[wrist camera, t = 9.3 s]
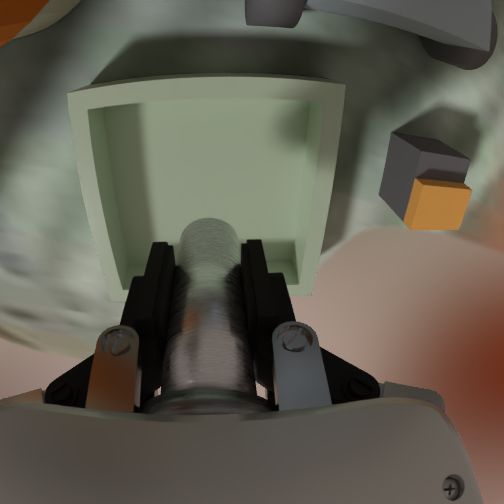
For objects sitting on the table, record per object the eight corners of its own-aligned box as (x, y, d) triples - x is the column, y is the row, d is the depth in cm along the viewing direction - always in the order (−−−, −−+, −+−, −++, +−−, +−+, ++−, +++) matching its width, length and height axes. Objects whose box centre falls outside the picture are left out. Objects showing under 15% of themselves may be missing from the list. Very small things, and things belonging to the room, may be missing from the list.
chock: (390, 132, 18) (430, 157, 14) (438, 139, 18) (479, 165, 14) (378, 194, 20) (410, 229, 17) (424, 196, 21) (458, 229, 17)
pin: (164, 208, 13) (118, 417, 6) (251, 206, 13) (293, 415, 6) (173, 276, 15) (154, 466, 8) (249, 274, 15) (276, 463, 8)
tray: (89, 84, 14) (67, 93, 12) (326, 78, 15) (346, 84, 13) (120, 272, 22) (111, 301, 19) (302, 266, 23) (311, 295, 21)
